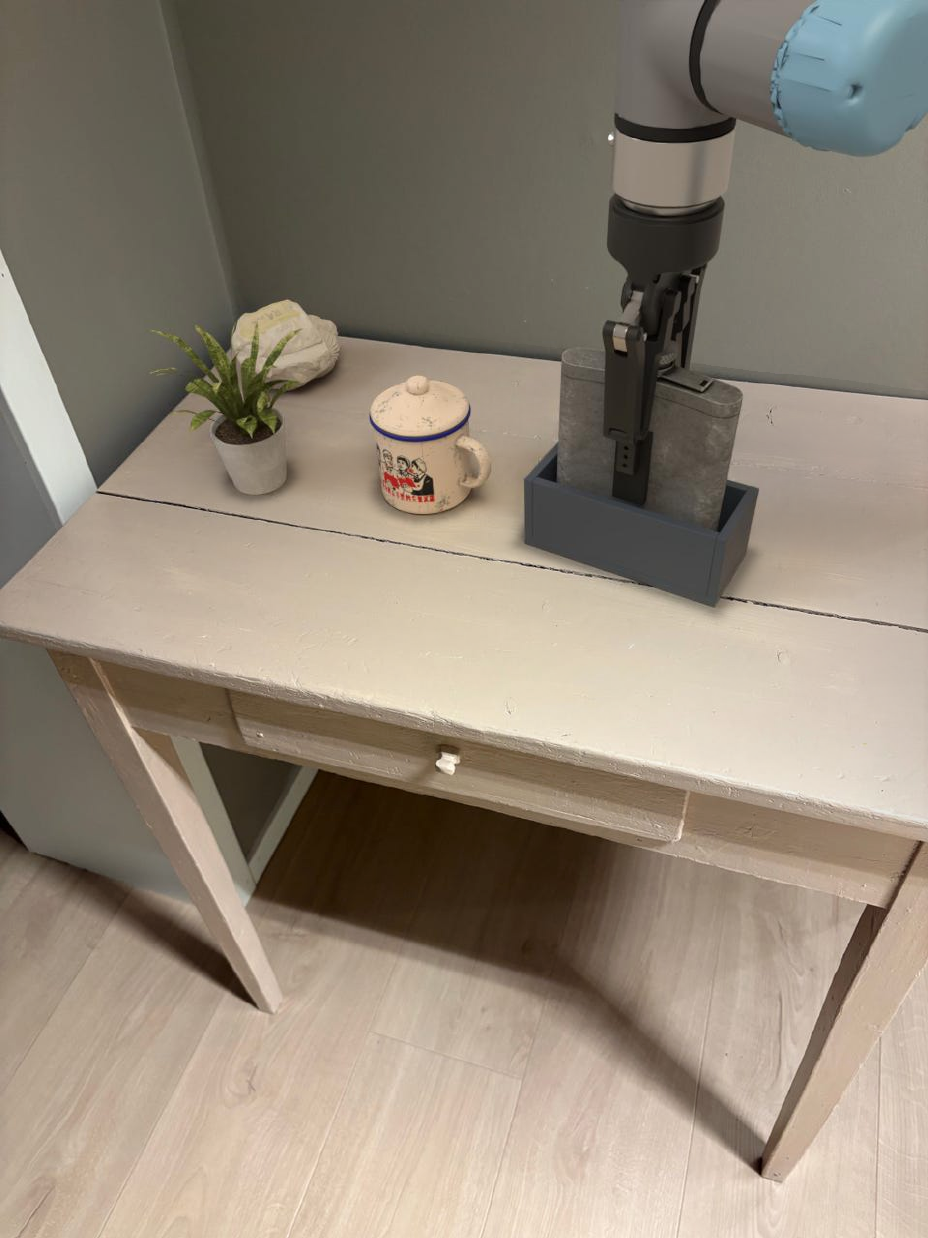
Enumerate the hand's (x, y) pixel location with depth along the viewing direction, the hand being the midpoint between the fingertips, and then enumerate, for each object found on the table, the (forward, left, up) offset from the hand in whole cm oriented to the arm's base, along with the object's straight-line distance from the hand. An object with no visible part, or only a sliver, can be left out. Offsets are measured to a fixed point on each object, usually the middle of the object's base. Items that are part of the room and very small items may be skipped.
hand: (639, 484), depth 79 cm
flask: (0, 0, -6) cm, 6 cm away
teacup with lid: (+19, +1, -7) cm, 21 cm away
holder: (0, 0, -7) cm, 7 cm away
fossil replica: (+45, -10, -7) cm, 47 cm away
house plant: (+37, +8, -7) cm, 39 cm away
